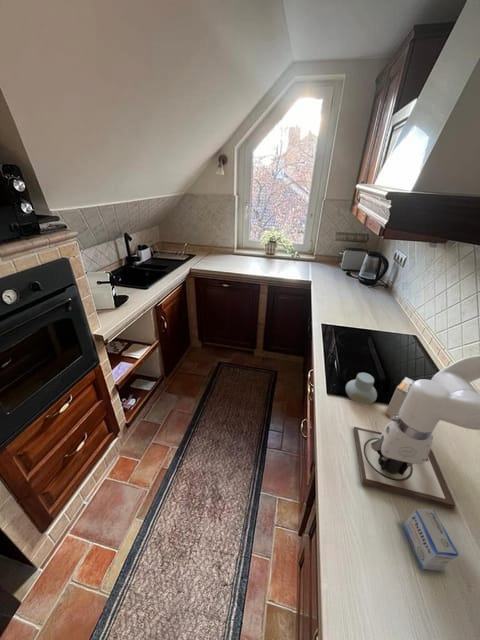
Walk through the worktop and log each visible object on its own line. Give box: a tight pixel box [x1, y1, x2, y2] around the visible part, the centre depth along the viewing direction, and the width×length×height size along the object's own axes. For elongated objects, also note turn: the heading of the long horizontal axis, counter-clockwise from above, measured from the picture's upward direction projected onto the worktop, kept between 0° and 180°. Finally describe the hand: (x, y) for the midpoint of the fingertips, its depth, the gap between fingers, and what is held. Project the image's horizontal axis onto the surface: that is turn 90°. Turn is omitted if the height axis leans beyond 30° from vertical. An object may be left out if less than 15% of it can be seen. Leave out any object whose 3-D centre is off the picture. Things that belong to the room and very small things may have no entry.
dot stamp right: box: [385, 458, 404, 474], centre depth 71 cm, size 4×4×5 cm
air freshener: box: [345, 372, 378, 405], centre depth 95 cm, size 11×8×10 cm
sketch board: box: [352, 426, 457, 509], centre depth 74 cm, size 22×18×2 cm
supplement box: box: [384, 376, 416, 418], centre depth 88 cm, size 8×5×13 cm, turn 131°
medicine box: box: [402, 508, 460, 571], centre depth 55 cm, size 8×4×9 cm, turn 178°
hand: (390, 467), depth 72 cm, fingers closed on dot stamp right, 4 cm apart
